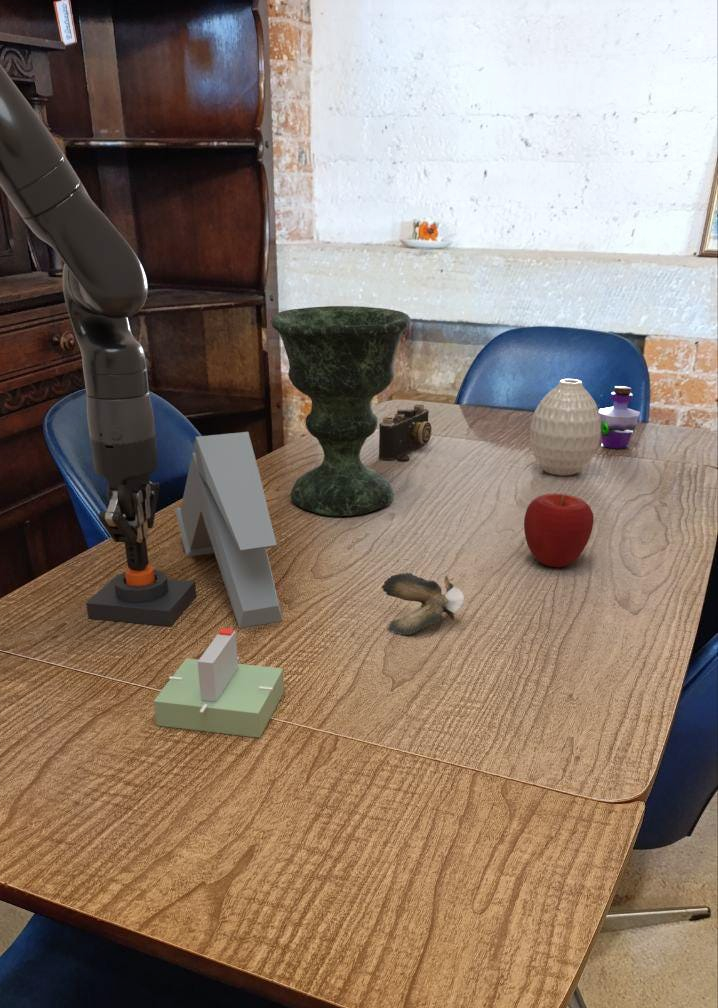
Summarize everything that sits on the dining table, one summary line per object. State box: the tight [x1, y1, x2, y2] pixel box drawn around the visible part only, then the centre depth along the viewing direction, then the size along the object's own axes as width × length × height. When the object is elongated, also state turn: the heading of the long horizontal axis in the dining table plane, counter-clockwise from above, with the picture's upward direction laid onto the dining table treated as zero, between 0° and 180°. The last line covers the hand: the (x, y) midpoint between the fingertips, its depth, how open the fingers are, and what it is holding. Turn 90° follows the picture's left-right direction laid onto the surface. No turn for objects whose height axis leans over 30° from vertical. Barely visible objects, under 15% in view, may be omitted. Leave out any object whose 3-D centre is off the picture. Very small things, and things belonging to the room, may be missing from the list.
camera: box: [378, 404, 433, 462], centre depth 175 cm, size 16×7×8 cm, turn 148°
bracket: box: [174, 431, 283, 629], centre depth 117 cm, size 8×27×25 cm
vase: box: [529, 378, 602, 477], centre depth 162 cm, size 13×13×17 cm
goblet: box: [270, 305, 412, 517], centre depth 144 cm, size 22×23×30 cm
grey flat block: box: [198, 627, 239, 702], centre depth 90 cm, size 7×2×5 cm, turn 168°
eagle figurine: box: [381, 572, 465, 636], centre depth 108 cm, size 8×7×9 cm
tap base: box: [153, 656, 285, 739], centre depth 91 cm, size 11×11×3 cm
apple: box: [523, 493, 595, 568], centre depth 125 cm, size 10×10×10 cm
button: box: [124, 564, 155, 586], centre depth 111 cm, size 4×4×2 cm
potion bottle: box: [598, 385, 641, 451], centre depth 178 cm, size 9×9×12 cm
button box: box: [85, 569, 197, 627], centre depth 112 cm, size 11×9×4 cm
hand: (138, 567), depth 111 cm, fingers closed
